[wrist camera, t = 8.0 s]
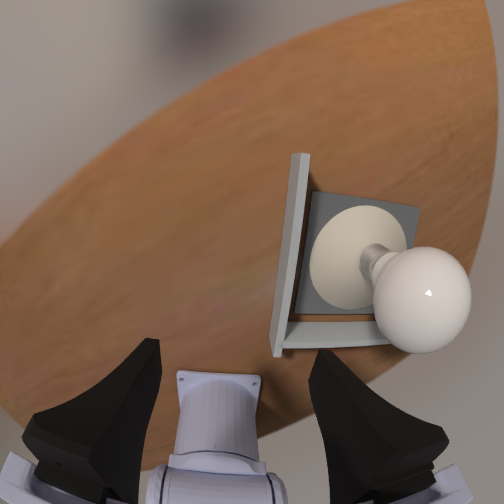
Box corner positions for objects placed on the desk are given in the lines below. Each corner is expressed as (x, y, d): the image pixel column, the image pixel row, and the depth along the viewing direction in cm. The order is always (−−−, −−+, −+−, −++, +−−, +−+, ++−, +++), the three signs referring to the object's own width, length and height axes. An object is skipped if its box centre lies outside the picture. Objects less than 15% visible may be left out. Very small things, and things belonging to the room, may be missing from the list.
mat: (393, 311, 24) (394, 313, 24) (293, 311, 23) (294, 314, 23) (418, 207, 21) (420, 208, 21) (311, 190, 20) (313, 191, 20)
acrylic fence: (385, 333, 25) (399, 350, 22) (268, 335, 24) (273, 357, 21) (422, 179, 20) (443, 183, 17) (291, 153, 19) (300, 152, 16)
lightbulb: (412, 232, 21) (504, 284, 11) (383, 298, 23) (452, 376, 13) (352, 207, 20) (446, 254, 10) (322, 281, 22) (382, 373, 12)
